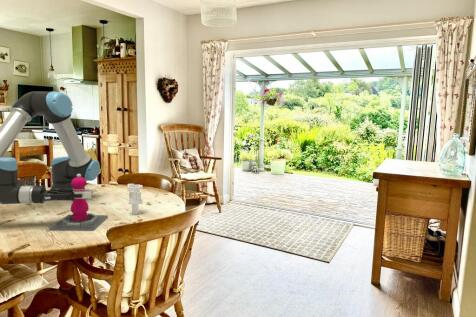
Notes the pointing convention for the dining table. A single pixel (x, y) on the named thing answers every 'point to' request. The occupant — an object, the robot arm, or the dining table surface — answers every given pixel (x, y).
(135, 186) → the white blocky figurine
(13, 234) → the dining table surface
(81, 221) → the collar plate
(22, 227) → the dining table surface
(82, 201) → the pepper mill
